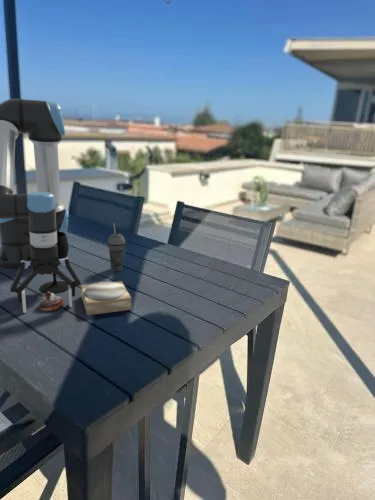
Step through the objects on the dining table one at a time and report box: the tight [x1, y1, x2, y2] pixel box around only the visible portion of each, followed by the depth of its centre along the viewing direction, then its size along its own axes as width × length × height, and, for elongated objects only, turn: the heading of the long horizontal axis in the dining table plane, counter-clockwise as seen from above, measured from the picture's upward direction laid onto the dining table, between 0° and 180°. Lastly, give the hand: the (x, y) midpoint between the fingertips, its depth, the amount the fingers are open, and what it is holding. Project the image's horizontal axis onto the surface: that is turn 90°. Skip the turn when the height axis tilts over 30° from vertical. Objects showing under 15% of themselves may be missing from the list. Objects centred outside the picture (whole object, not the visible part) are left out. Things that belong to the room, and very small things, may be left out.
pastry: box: [38, 291, 65, 313], centre depth 113 cm, size 8×8×5 cm
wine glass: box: [39, 231, 70, 294], centre depth 124 cm, size 10×10×20 cm
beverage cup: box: [107, 222, 126, 272], centre depth 145 cm, size 7×7×20 cm
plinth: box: [80, 281, 132, 316], centre depth 117 cm, size 14×14×5 cm
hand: (48, 308), depth 112 cm, fingers open, 13 cm apart
